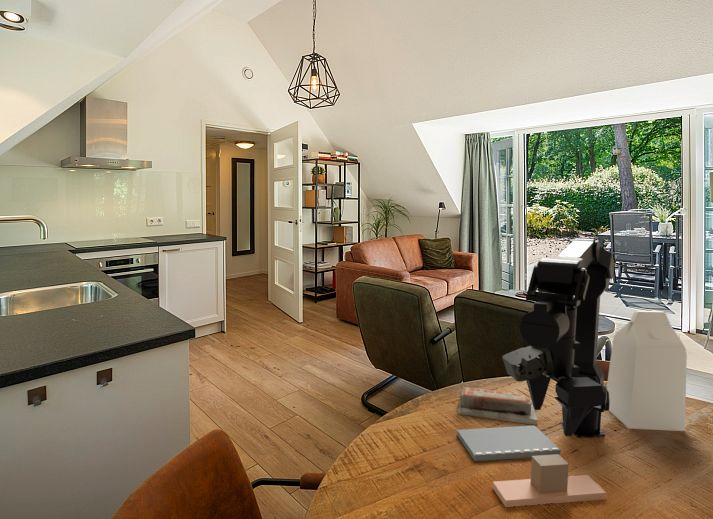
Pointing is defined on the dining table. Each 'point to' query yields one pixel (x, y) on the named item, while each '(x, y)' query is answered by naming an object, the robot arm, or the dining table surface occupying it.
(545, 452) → the board
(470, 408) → the packaged product
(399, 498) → the dining table surface
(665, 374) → the milk
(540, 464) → the stub
